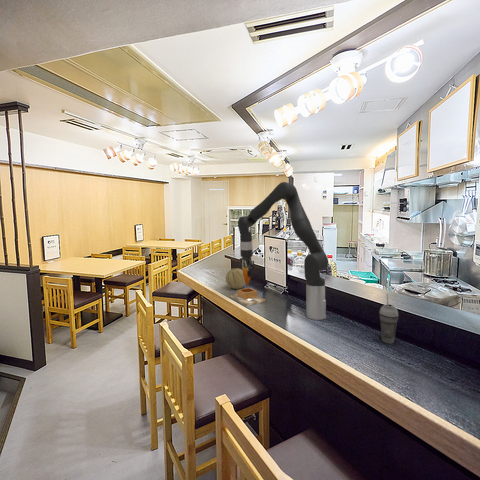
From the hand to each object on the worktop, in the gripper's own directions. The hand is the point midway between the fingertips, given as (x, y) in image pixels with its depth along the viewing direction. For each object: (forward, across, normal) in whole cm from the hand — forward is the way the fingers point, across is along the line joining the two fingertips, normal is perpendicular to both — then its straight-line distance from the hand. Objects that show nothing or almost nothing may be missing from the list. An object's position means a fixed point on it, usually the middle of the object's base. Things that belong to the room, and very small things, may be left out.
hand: (247, 275), depth 173 cm
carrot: (+6, 0, 0) cm, 6 cm away
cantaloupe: (+15, +25, -6) cm, 30 cm away
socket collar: (+14, 0, 0) cm, 14 cm away
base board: (+15, 0, 0) cm, 15 cm away
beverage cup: (+15, -79, -20) cm, 83 cm away
